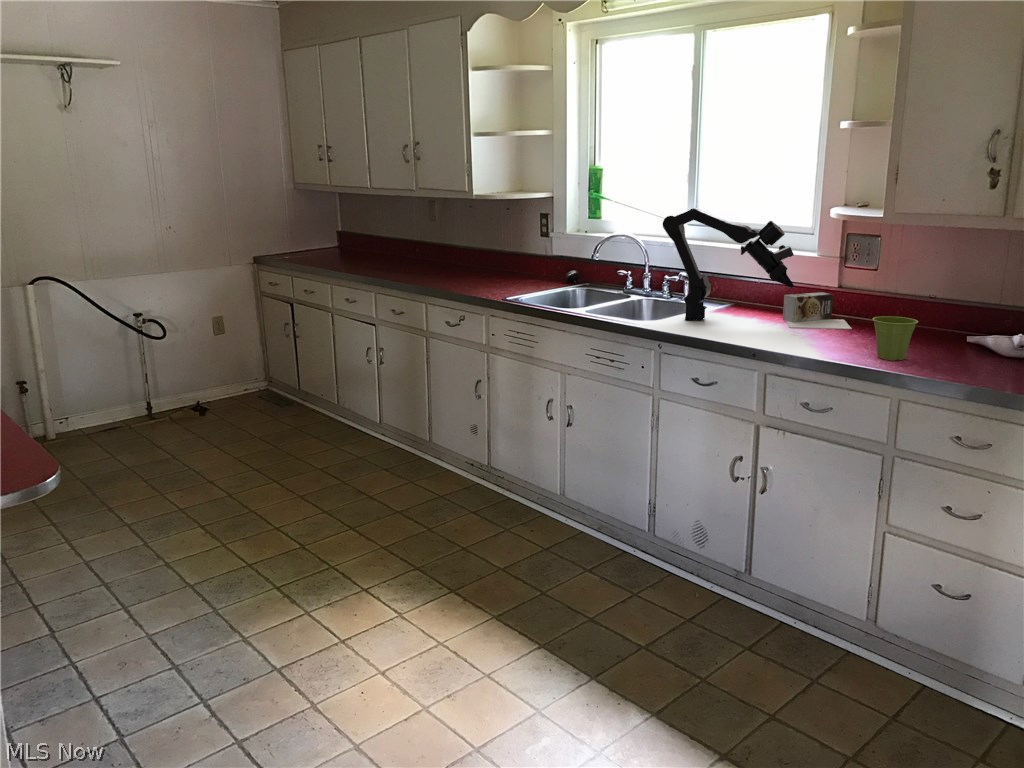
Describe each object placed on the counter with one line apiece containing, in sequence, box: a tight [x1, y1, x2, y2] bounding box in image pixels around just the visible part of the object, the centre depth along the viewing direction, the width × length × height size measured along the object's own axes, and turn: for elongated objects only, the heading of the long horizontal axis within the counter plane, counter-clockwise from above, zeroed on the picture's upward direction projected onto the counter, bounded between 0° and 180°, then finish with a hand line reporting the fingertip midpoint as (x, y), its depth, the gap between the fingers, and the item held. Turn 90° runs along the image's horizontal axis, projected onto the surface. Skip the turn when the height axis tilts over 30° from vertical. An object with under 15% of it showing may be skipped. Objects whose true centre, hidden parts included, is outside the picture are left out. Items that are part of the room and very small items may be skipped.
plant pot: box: [872, 315, 919, 361], centre depth 232 cm, size 12×12×11 cm
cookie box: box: [782, 291, 834, 322], centre depth 290 cm, size 9×6×16 cm
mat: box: [785, 318, 853, 330], centre depth 284 cm, size 20×16×1 cm
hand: (792, 286), depth 282 cm, fingers closed
